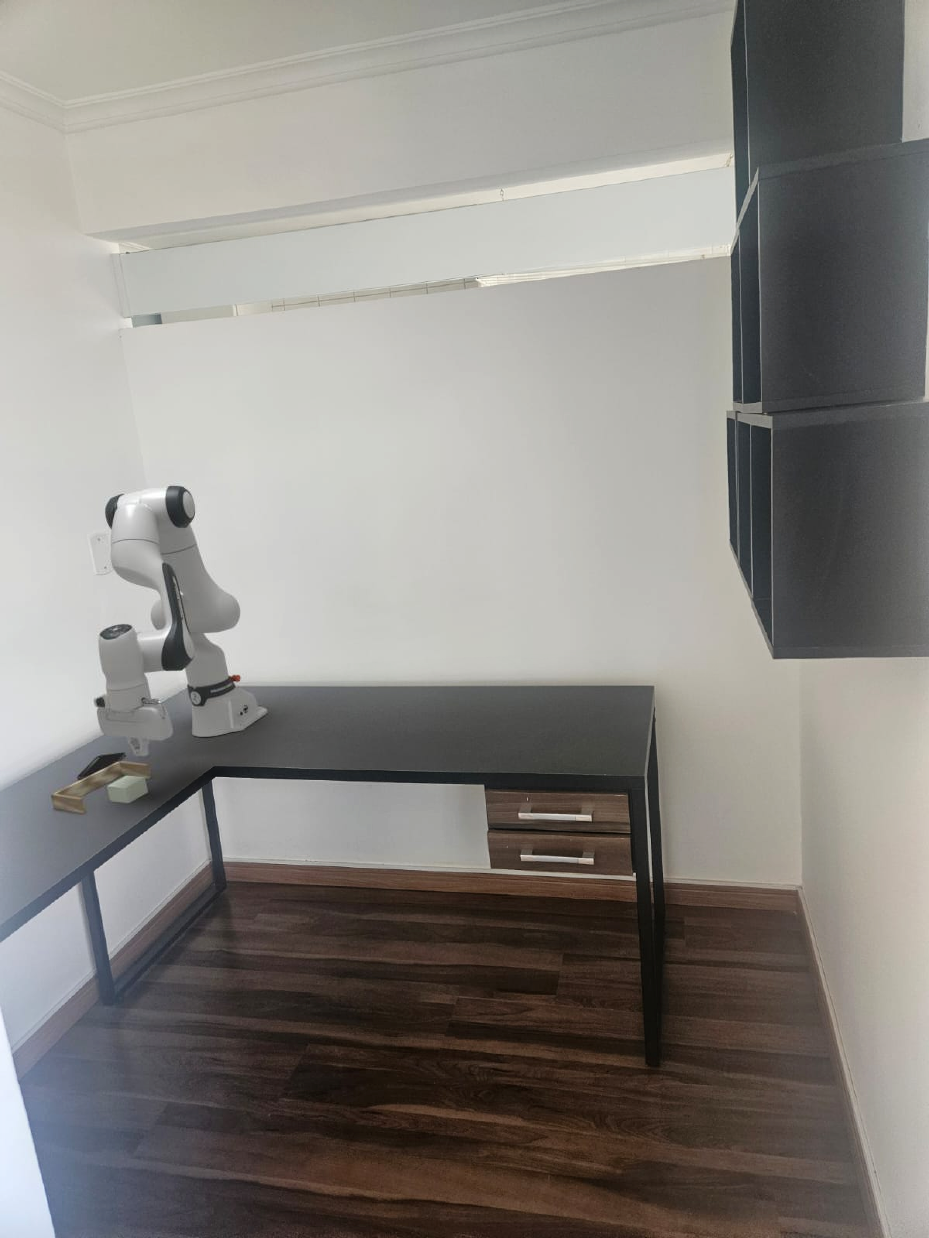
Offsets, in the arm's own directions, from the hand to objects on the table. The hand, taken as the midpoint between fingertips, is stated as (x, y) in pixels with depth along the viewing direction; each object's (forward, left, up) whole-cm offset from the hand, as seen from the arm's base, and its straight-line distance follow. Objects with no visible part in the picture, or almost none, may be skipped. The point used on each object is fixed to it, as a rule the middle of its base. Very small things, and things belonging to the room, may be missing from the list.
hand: (141, 754), depth 197 cm
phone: (-12, -32, -12) cm, 36 cm away
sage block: (0, -8, -12) cm, 14 cm away
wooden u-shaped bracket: (0, -17, -11) cm, 21 cm away
